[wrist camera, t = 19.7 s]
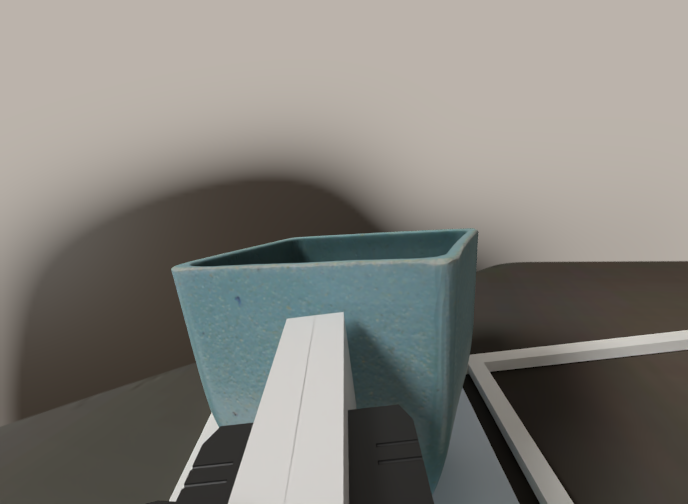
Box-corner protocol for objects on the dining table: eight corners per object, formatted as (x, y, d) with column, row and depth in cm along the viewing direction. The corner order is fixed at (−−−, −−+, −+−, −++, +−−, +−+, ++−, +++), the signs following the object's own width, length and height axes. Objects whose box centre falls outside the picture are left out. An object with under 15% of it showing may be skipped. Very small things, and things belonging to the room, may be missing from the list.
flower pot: (307, 408, 23) (291, 234, 22) (487, 425, 20) (479, 225, 19) (197, 533, 15) (161, 265, 14) (473, 595, 12) (457, 258, 11)
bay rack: (704, 327, 26) (710, 247, 25) (1354, 660, 9) (1463, 464, 8) (233, 380, 27) (218, 305, 26) (51, 778, 10) (-16, 613, 9)
